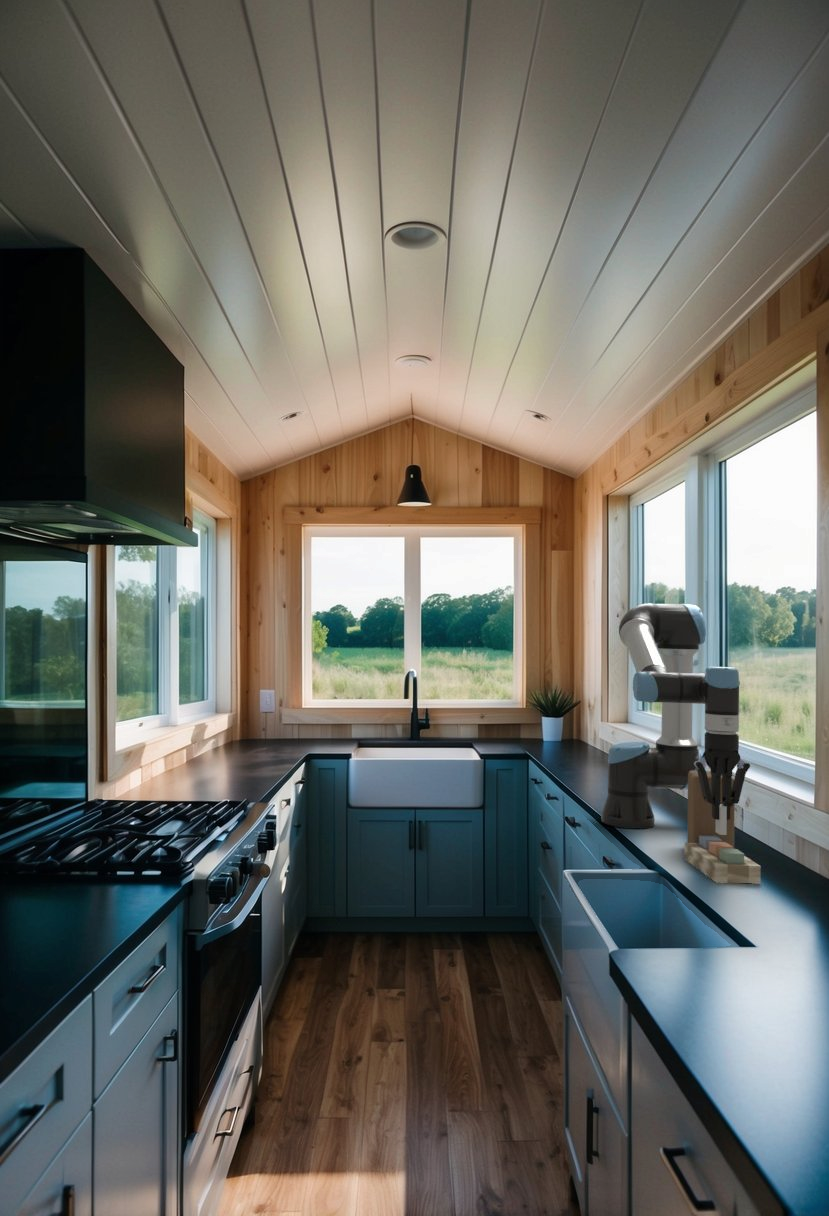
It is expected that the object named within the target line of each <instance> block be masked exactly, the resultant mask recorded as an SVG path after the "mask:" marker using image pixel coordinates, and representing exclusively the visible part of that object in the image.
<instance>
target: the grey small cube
mask: <svg viewBox="0 0 829 1216" xmlns="http://www.w3.org/2000/svg"><path fill="white" fill-rule="evenodd" d="M709 842H722V840H721V839H720V838H718V837H716V836H699V846H700V847H702V848H703V849H709Z"/></svg>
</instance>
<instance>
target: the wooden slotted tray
mask: <svg viewBox="0 0 829 1216" xmlns="http://www.w3.org/2000/svg"><path fill="white" fill-rule="evenodd" d="M685 859H686V860H687V861H686V860H685ZM684 860H685V861H686V862H687V863H689V864H690V863H691V864H692V865H691V864H690V865H691V866H693V865H694V866H695V867H696V868H695V867H694V866H693V867H694V868H695V869H697V870H698V869H699V870H700V871H701V872H700V871H699V870H698V871H699V872H700V873H702V872H703V873H704V874H705V876H706V875H707V876H708V877H709V878H708V877H707V876H706V877H707V878H708V879H710V878H711V879H712V880H713V881H715V882H716V883H715V882H714V883H715V884H719V883H718V882H721V883H720V884H724V883H752V884H751V885H761V876H762V874H761V868H762V867H761V865H760V864H758V863H757V862H755V861H753V860H752V859H751V858H749V857H747V856H746V855H744V864H725V863H723V862H722V861H721V860H719V856H713V855H712V854H710V853H709V849H703V848H702V847H700V846H699V843H687V842H684ZM703 873H702V874H703ZM704 874H703V875H704ZM711 879H710V880H711ZM712 880H711V881H712ZM713 881H712V882H713ZM753 883H754V884H753Z"/></svg>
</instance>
